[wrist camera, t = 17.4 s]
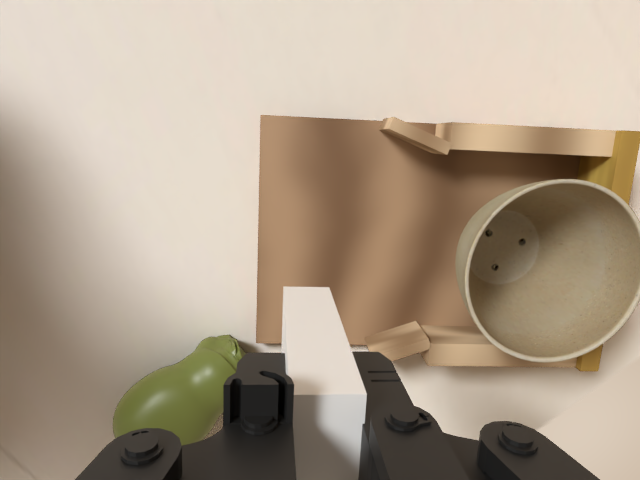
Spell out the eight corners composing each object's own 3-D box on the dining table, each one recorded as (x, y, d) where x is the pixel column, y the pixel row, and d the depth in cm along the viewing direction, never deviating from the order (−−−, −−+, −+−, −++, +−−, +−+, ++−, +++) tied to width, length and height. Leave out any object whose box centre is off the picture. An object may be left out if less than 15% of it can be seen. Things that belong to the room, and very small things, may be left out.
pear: (84, 433, 28) (225, 331, 29) (105, 394, 33) (225, 309, 34) (143, 499, 29) (278, 399, 30) (155, 452, 34) (269, 368, 35)
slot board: (256, 338, 33) (252, 369, 29) (261, 113, 30) (257, 109, 26) (558, 343, 35) (597, 373, 30) (593, 130, 32) (642, 129, 27)
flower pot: (590, 276, 33) (672, 313, 26) (459, 338, 33) (505, 392, 26) (542, 143, 31) (617, 145, 24) (402, 211, 31) (435, 233, 24)
